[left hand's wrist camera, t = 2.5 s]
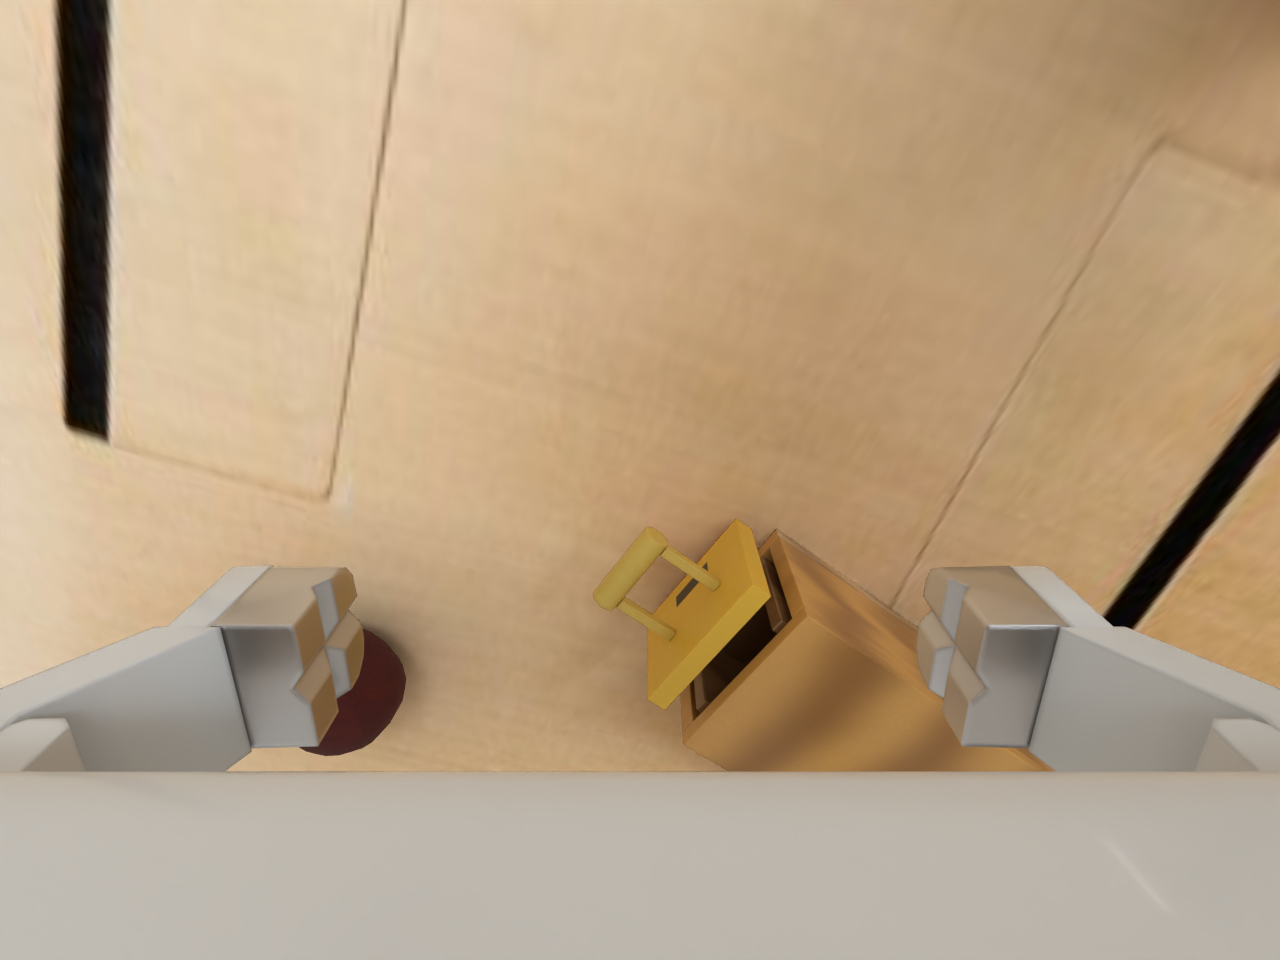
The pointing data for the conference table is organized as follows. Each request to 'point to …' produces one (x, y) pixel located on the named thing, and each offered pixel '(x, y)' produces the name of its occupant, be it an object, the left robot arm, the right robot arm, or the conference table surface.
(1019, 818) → the left robot arm
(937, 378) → the conference table surface
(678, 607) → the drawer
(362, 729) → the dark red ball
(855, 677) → the cabinet
